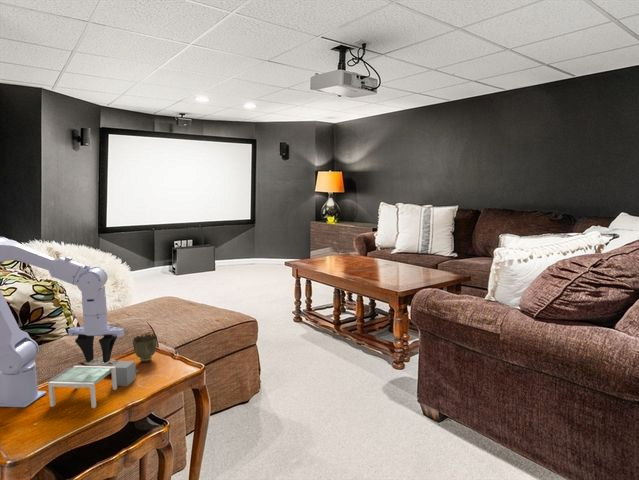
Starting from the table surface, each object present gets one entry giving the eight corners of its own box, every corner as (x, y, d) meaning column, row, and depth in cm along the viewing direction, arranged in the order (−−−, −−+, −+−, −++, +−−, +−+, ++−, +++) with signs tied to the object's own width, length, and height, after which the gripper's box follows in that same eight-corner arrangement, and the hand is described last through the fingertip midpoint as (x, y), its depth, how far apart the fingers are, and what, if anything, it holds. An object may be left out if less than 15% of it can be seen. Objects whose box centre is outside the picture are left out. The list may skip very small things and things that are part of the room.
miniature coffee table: (50, 406, 110) (48, 382, 109) (76, 387, 120) (74, 365, 120) (94, 407, 109) (92, 384, 108) (117, 388, 119) (115, 366, 119)
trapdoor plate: (48, 386, 110) (47, 380, 110) (69, 372, 119) (68, 367, 119) (93, 387, 109) (93, 382, 109) (111, 373, 118) (111, 368, 118)
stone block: (112, 385, 121) (111, 367, 121) (121, 378, 126) (119, 360, 125) (127, 386, 121) (126, 367, 120) (135, 378, 126) (134, 361, 125)
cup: (138, 356, 142) (137, 333, 141) (161, 356, 142) (159, 333, 141) (130, 365, 135) (128, 341, 134) (153, 365, 135) (152, 341, 134)
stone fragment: (122, 383, 125) (148, 370, 134) (121, 374, 124) (147, 361, 133) (64, 368, 135) (92, 356, 144) (63, 360, 134) (91, 348, 143)
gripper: (128, 309, 117) (131, 355, 119) (78, 308, 118) (82, 354, 120) (114, 316, 110) (118, 366, 112) (61, 316, 111) (65, 365, 113)
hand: (98, 361), depth 116 cm, fingers open, 4 cm apart
